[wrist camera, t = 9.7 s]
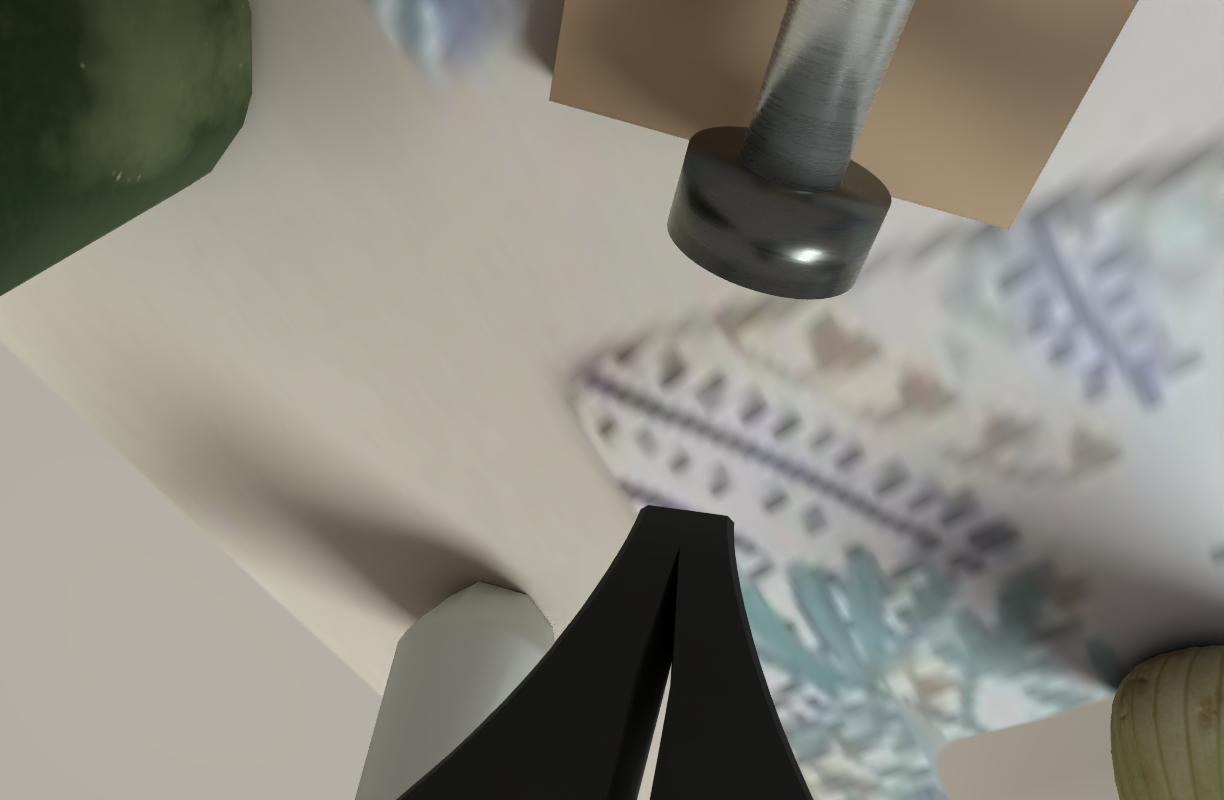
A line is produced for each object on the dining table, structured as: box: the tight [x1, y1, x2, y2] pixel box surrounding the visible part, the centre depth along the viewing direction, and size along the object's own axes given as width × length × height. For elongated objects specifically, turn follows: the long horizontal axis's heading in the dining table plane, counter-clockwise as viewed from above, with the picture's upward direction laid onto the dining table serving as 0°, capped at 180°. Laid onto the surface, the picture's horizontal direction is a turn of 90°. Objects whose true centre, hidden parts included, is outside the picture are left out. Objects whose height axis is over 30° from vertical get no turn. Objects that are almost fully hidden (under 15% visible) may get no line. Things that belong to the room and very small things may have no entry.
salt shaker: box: [355, 581, 555, 800], centre depth 25 cm, size 6×6×13 cm
